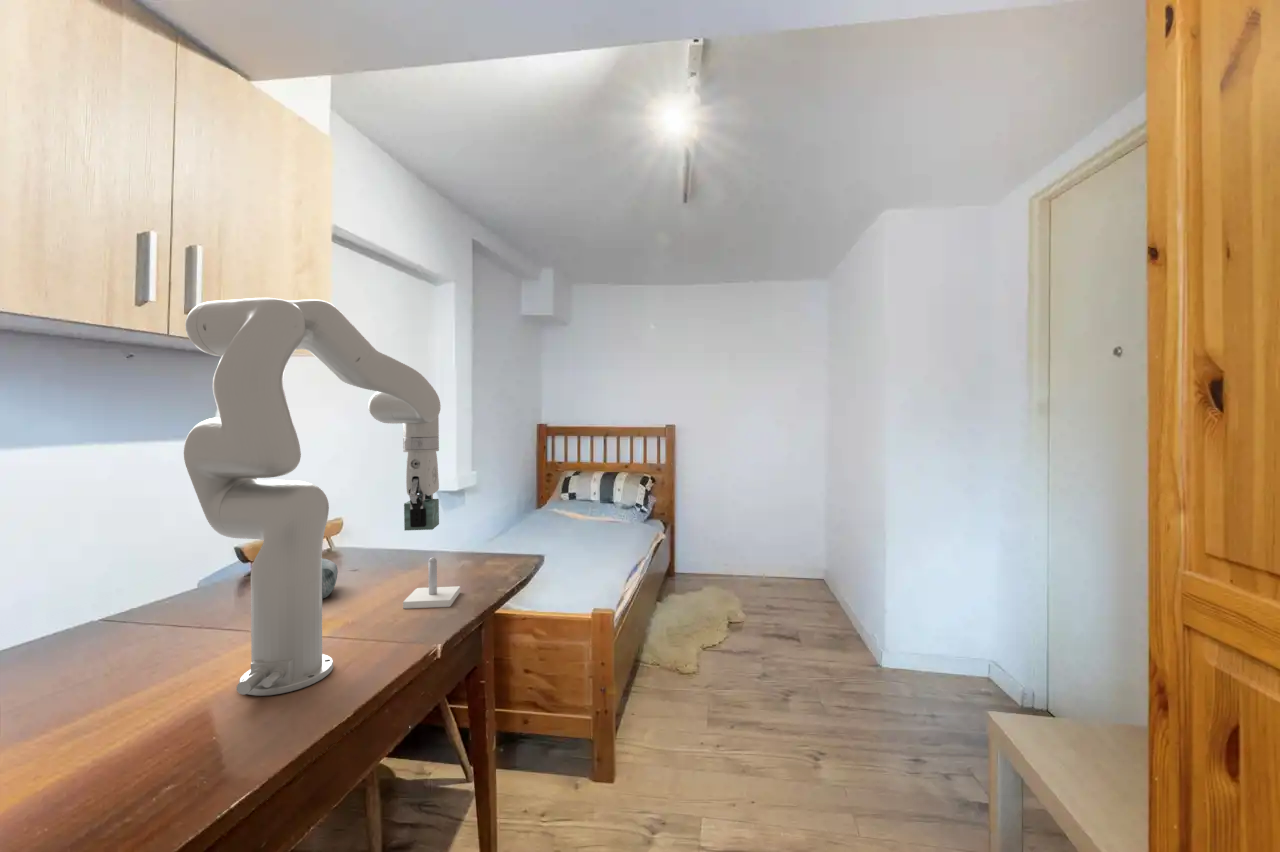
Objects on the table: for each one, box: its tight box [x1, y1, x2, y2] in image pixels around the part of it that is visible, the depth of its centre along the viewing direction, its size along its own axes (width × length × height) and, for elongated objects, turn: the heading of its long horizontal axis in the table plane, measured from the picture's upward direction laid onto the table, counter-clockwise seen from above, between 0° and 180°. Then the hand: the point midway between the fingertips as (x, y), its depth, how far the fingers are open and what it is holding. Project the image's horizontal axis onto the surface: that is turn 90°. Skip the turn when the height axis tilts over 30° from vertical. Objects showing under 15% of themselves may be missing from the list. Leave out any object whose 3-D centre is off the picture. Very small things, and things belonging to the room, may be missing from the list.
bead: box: [403, 498, 440, 532], centre depth 122 cm, size 6×6×6 cm
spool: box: [322, 557, 339, 600], centre depth 127 cm, size 14×10×10 cm
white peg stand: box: [402, 556, 461, 610], centre depth 123 cm, size 10×10×10 cm
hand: (422, 522), depth 122 cm, fingers closed on bead, 5 cm apart
